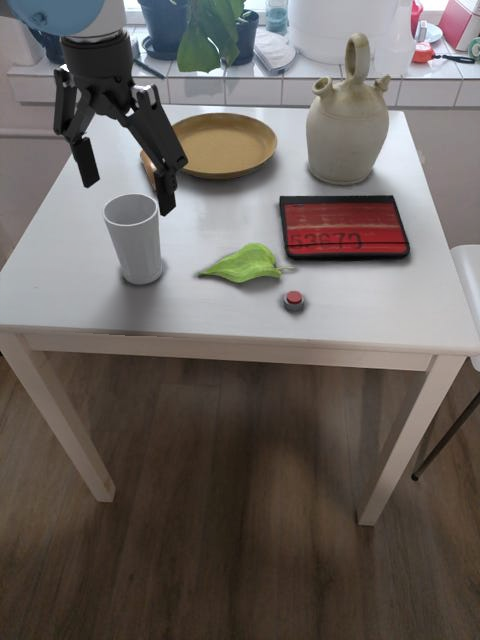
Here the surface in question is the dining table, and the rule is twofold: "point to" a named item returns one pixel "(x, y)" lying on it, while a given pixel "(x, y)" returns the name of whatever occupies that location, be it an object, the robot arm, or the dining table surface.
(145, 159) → the dowel
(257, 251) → the leaf
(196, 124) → the plant saucer
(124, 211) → the cup
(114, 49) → the robot arm
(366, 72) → the jug
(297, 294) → the push button
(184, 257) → the dining table surface
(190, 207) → the dining table surface
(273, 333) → the dining table surface
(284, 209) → the notebook
